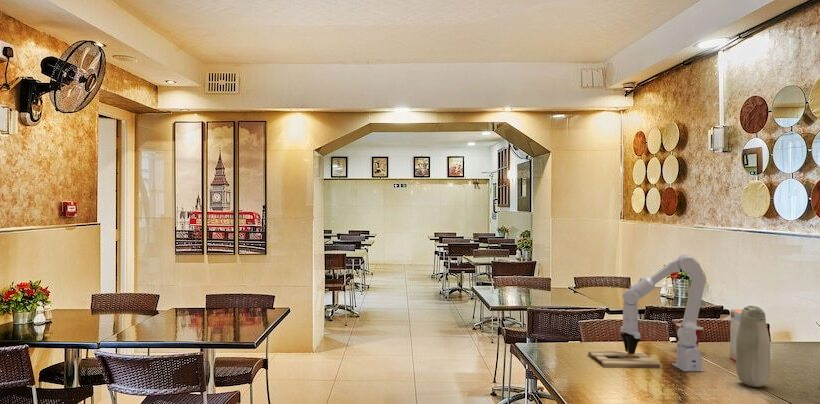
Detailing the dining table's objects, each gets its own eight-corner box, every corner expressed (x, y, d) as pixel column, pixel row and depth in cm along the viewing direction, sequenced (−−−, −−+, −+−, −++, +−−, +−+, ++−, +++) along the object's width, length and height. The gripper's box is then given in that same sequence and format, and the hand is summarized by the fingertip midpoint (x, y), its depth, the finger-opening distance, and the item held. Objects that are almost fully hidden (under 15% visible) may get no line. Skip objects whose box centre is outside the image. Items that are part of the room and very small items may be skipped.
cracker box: (759, 368, 219) (759, 315, 219) (742, 367, 220) (742, 314, 220) (745, 359, 232) (745, 309, 233) (729, 358, 234) (729, 308, 234)
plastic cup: (708, 356, 236) (708, 328, 236) (682, 355, 236) (682, 327, 237) (695, 349, 247) (695, 322, 247) (671, 349, 247) (671, 322, 247)
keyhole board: (660, 368, 216) (660, 362, 216) (604, 367, 216) (604, 362, 216) (639, 356, 234) (639, 351, 234) (588, 355, 234) (588, 350, 234)
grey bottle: (774, 391, 190) (775, 309, 190) (742, 388, 192) (742, 307, 192) (762, 382, 200) (763, 304, 200) (731, 380, 202) (732, 303, 202)
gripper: (613, 315, 232) (613, 348, 232) (628, 322, 218) (627, 357, 218) (630, 315, 233) (629, 348, 232) (645, 322, 218) (645, 357, 218)
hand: (630, 352), depth 225 cm, fingers closed on keyhole peg, 2 cm apart
